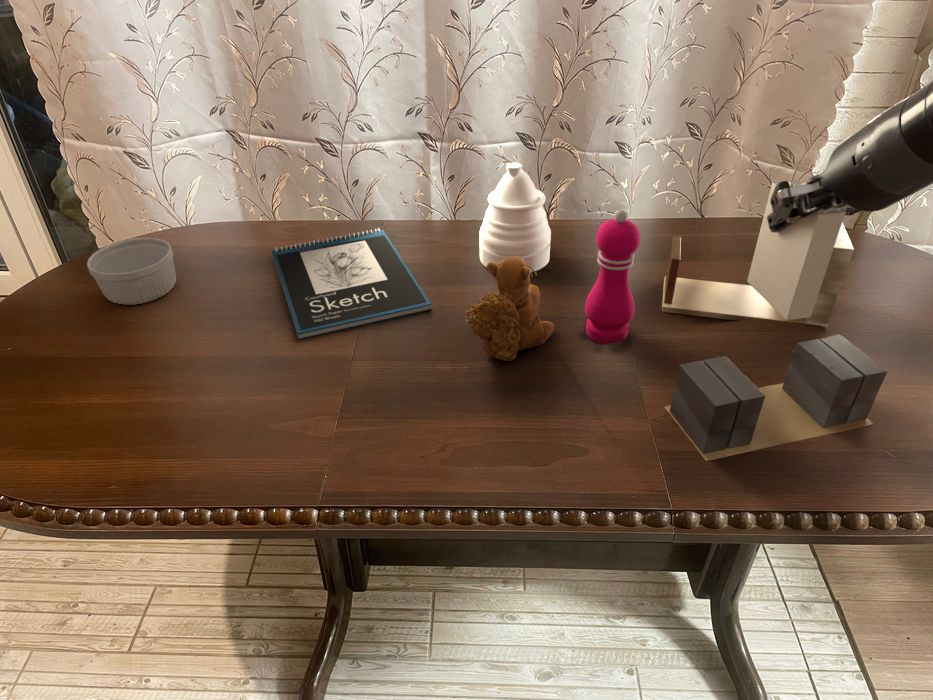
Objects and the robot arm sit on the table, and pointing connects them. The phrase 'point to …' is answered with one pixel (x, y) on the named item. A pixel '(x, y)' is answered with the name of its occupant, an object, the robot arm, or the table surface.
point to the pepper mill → (612, 281)
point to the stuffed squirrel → (509, 312)
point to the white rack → (749, 291)
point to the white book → (794, 260)
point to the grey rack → (775, 399)
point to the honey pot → (515, 222)
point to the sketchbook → (346, 283)
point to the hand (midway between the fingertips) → (787, 222)
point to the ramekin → (134, 270)
